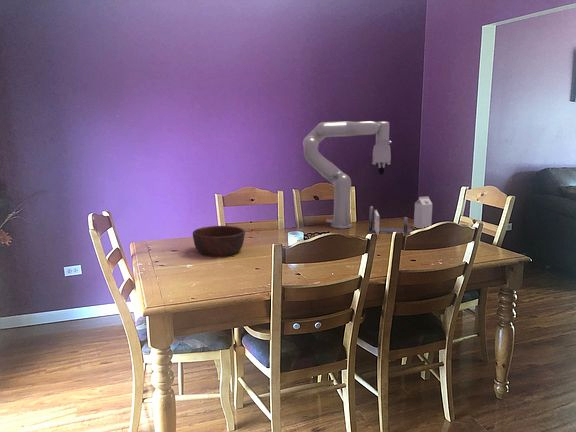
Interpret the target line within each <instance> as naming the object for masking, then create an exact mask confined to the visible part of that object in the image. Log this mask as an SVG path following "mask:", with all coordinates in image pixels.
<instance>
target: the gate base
mask: <svg viewBox="0 0 576 432" xmlns="http://www.w3.org/2000/svg"><path fill="white" fill-rule="evenodd" d="M368 215H369V216H368V217H369V218H368V227H367V233H368V232H371V234H373V233H374V234H376V233H375V229H374V228H373V224H374V206H373V205H371V206H369V214H368ZM408 222H409V217H408V216H404V219H403V228H401V227H400V228H399V227H398V228H397V227H379V232H385V233H384V234H389V233H393V232H395V231H397V232H404V233H408V234H407V235H410V234H409V233H410V232H412V231H413V228H408V226H409V225H408V224H409V223H408ZM386 232H387V233H386ZM413 232H414V231H413Z"/></svg>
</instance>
